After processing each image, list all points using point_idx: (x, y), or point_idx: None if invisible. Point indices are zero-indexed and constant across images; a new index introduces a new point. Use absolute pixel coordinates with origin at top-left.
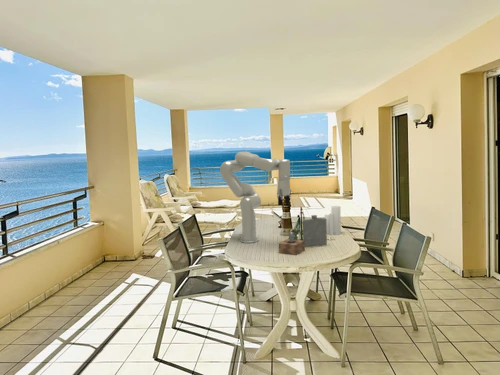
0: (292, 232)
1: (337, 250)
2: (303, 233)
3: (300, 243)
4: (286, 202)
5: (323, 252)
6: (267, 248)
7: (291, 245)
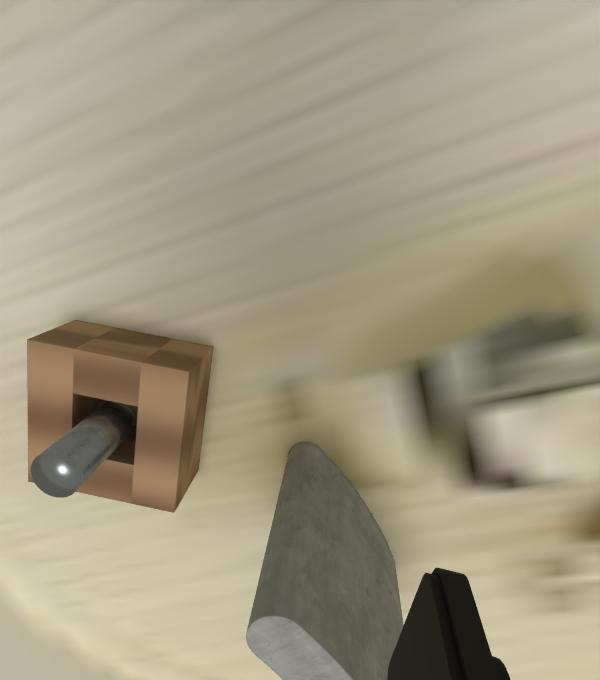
0: (61, 483)
1: None
2: (277, 511)
3: (102, 494)
4: (419, 616)
5: (186, 576)
6: (160, 191)
7: (32, 442)
